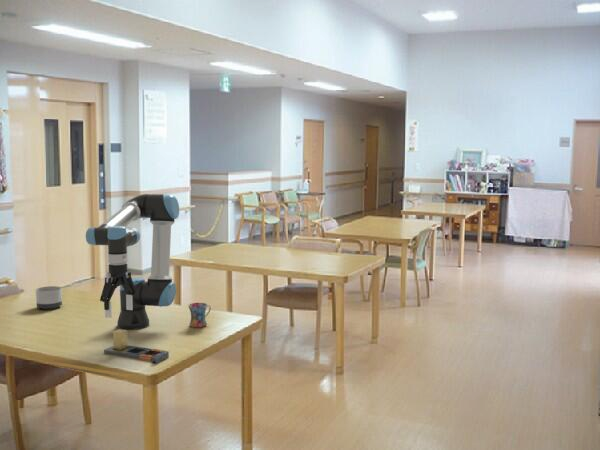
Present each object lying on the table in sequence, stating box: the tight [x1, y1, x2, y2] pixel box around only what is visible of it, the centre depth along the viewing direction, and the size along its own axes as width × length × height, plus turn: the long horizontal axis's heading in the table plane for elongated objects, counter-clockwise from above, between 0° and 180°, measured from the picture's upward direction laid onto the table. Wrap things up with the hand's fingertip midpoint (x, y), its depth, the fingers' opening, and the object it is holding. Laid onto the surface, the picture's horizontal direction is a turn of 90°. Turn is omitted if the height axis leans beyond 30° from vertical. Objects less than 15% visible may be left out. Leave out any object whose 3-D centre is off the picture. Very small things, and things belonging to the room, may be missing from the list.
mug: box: [187, 302, 212, 328], centre depth 308 cm, size 12×9×11 cm
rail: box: [103, 344, 170, 365], centre depth 263 cm, size 26×9×3 cm, turn 67°
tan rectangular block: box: [112, 328, 128, 351], centre depth 265 cm, size 4×4×9 cm
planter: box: [35, 285, 63, 310], centre depth 341 cm, size 13×13×10 cm
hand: (119, 313), depth 264 cm, fingers open, 13 cm apart
